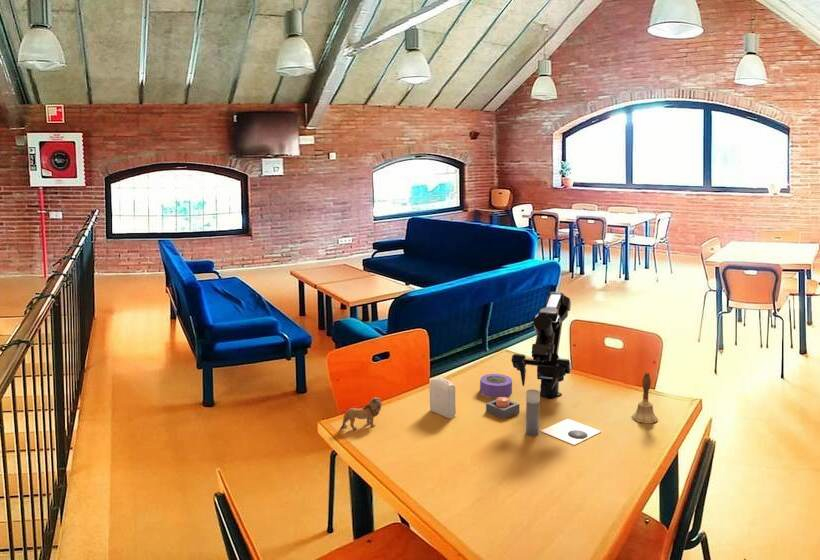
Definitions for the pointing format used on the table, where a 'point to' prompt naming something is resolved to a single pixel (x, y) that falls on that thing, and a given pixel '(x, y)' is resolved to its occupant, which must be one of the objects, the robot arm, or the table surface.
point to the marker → (532, 412)
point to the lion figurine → (363, 413)
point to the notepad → (571, 431)
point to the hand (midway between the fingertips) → (537, 387)
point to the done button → (502, 402)
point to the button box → (502, 409)
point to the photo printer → (442, 397)
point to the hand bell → (645, 404)
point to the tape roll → (496, 385)
